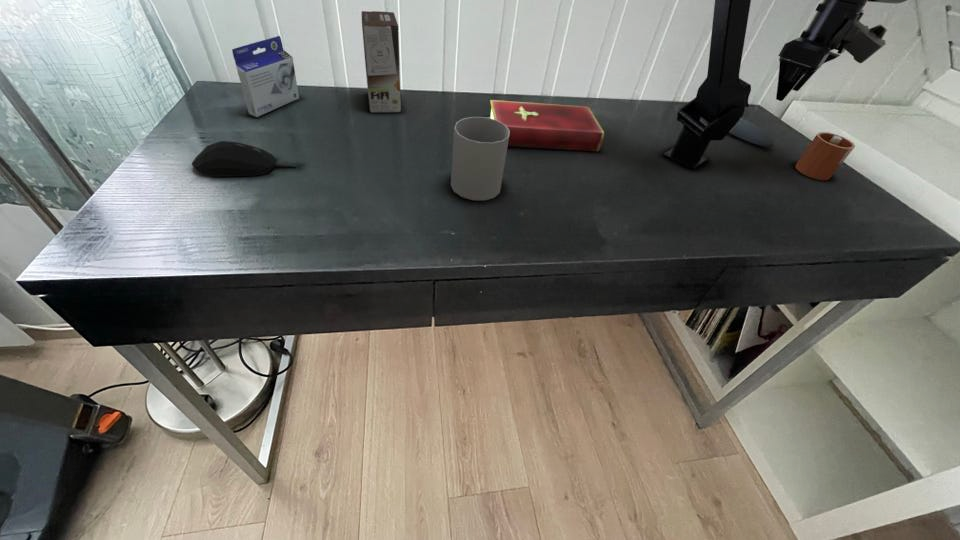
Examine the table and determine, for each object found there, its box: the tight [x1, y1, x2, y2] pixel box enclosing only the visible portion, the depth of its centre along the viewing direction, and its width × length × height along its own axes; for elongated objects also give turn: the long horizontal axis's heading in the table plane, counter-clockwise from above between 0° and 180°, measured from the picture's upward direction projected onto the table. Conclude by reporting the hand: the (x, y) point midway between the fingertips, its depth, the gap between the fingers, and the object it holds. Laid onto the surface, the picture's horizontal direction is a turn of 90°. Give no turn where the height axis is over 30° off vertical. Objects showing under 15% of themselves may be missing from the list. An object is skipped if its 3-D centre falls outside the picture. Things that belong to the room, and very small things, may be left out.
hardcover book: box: [487, 99, 605, 152], centre depth 84 cm, size 12×21×4 cm, turn 95°
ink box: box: [231, 35, 300, 118], centre depth 78 cm, size 12×2×12 cm, turn 155°
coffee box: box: [361, 10, 402, 113], centre depth 83 cm, size 9×6×16 cm
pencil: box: [829, 135, 842, 146], centre depth 84 cm, size 2×2×7 cm
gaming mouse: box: [191, 140, 297, 177], centre depth 66 cm, size 6×15×4 cm, turn 99°
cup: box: [450, 116, 510, 201], centre depth 66 cm, size 8×8×10 cm
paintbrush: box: [700, 117, 776, 148], centre depth 95 cm, size 20×5×5 cm, turn 48°
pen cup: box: [794, 131, 856, 181], centre depth 84 cm, size 7×7×7 cm
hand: (787, 95), depth 79 cm, fingers open, 9 cm apart
